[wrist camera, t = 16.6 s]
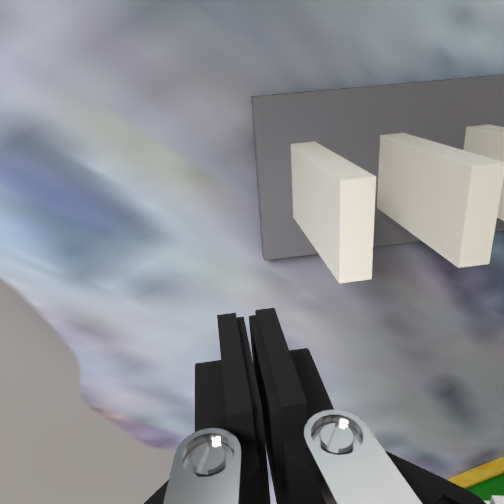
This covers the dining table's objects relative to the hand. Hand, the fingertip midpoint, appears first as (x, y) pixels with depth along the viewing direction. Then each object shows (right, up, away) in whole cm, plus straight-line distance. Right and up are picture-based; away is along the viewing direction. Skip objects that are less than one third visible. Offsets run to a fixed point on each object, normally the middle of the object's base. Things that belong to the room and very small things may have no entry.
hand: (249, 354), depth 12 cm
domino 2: (+9, +9, +17) cm, 21 cm away
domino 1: (+4, +8, +16) cm, 18 cm away
